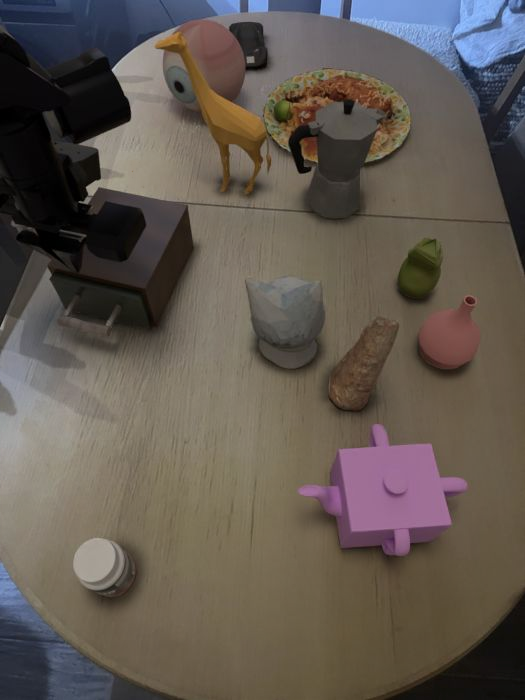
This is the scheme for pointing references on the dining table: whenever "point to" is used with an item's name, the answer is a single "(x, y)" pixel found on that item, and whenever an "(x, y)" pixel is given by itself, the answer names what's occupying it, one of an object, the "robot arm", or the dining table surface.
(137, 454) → the dining table surface
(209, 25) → the eyeball
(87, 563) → the pill bottle
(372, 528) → the teapot
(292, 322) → the figurine
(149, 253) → the cabinet
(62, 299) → the drawer
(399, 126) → the rice dish
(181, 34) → the giraffe
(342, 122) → the coffeepot
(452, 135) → the dining table surface
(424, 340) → the pink vase
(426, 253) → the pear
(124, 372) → the dining table surface
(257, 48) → the toy car
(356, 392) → the brown tapered rod
